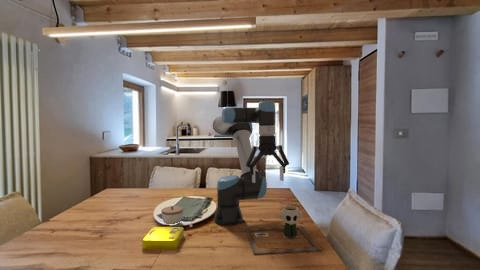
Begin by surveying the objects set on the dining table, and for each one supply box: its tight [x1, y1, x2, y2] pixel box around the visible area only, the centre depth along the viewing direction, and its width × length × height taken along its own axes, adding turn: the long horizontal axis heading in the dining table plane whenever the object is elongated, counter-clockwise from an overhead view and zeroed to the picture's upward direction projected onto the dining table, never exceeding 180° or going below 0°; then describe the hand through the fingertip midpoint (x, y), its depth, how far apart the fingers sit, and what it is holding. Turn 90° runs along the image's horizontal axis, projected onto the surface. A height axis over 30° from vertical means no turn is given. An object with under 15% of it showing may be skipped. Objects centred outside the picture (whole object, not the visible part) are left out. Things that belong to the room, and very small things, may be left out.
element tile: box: [141, 226, 185, 251], centre depth 123 cm, size 15×15×5 cm
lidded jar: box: [161, 205, 184, 225], centre depth 143 cm, size 11×11×9 cm
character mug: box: [278, 205, 303, 237], centre depth 128 cm, size 11×7×13 cm, turn 92°
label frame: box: [245, 225, 323, 256], centre depth 124 cm, size 28×25×1 cm
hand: (267, 181), depth 128 cm, fingers open, 13 cm apart
